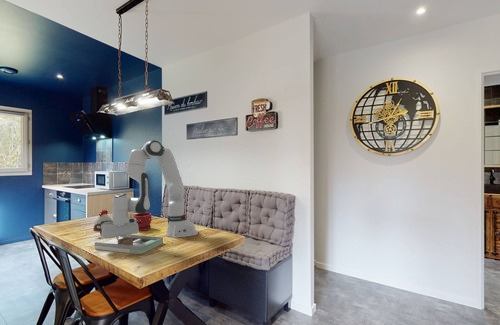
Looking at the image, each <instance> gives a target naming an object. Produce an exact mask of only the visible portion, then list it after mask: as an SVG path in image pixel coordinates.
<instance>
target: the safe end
mask: <svg viewBox="0 0 500 325" xmlns="http://www.w3.org/2000/svg"><path fill="white" fill-rule="evenodd" d="M162 244H164V239H163V240H162V238H160V239H158V240H150V241H148V242H145V243H143V244H141V245H139V246H141V247H142V251H139V250H130V253H129V254H137V255H142V254H143V255H144V254H145V253H146V252H149V251H150V250H153V249H155V248H156V247H159V246H162Z"/></svg>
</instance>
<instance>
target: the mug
mask: <svg viewBox="0 0 500 325" xmlns="http://www.w3.org/2000/svg"><path fill="white" fill-rule="evenodd" d="M104 222H111V221H102V222H100V224H96V225H95V226H94V225H93V227H94V229H95V230H96V231H95V232H100V233H99V234H100V236H101V237H102V230H101V225H102V224H103V223H104ZM97 226H100V228H97Z"/></svg>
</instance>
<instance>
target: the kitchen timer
mask: <svg viewBox="0 0 500 325" xmlns="http://www.w3.org/2000/svg"><path fill="white" fill-rule="evenodd" d="M108 212H109V211H108V210H107V209H102V210H101V211H100V213H98V216H97V218H96V219H95V221H94V224H93V231H94V232H97V231H96V230H95V229H94V226H95V225H96V224H100V222H102V221H112V217H110V216H109V215H108V214H109V213H108ZM97 228H100V226H97Z"/></svg>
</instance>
